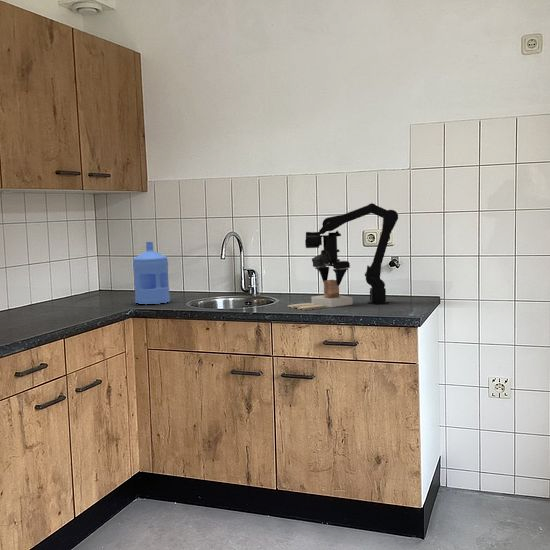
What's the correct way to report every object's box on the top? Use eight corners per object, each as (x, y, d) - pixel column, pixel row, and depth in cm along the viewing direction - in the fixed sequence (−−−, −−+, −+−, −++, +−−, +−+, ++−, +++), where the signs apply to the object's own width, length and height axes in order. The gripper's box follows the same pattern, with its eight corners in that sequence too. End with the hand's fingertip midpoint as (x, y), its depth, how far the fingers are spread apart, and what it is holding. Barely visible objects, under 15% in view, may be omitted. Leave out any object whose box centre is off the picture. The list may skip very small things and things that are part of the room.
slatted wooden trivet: (325, 307, 269) (325, 305, 269) (305, 310, 264) (305, 308, 263) (307, 304, 280) (307, 302, 280) (287, 307, 275) (287, 305, 274)
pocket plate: (352, 304, 275) (352, 297, 275) (331, 307, 270) (331, 299, 269) (332, 301, 287) (332, 294, 287) (311, 303, 281) (311, 296, 281)
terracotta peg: (339, 304, 278) (338, 280, 277) (330, 305, 275) (330, 281, 274) (333, 303, 282) (332, 279, 281) (324, 304, 279) (323, 280, 278)
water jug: (129, 303, 305) (126, 242, 302) (160, 299, 314) (157, 240, 311) (144, 306, 292) (140, 243, 289) (176, 302, 302) (172, 241, 299)
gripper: (301, 248, 280) (303, 284, 281) (328, 249, 264) (329, 288, 265) (323, 246, 286) (324, 282, 287) (350, 247, 270) (351, 285, 271)
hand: (331, 284), depth 278 cm, fingers open, 9 cm apart
